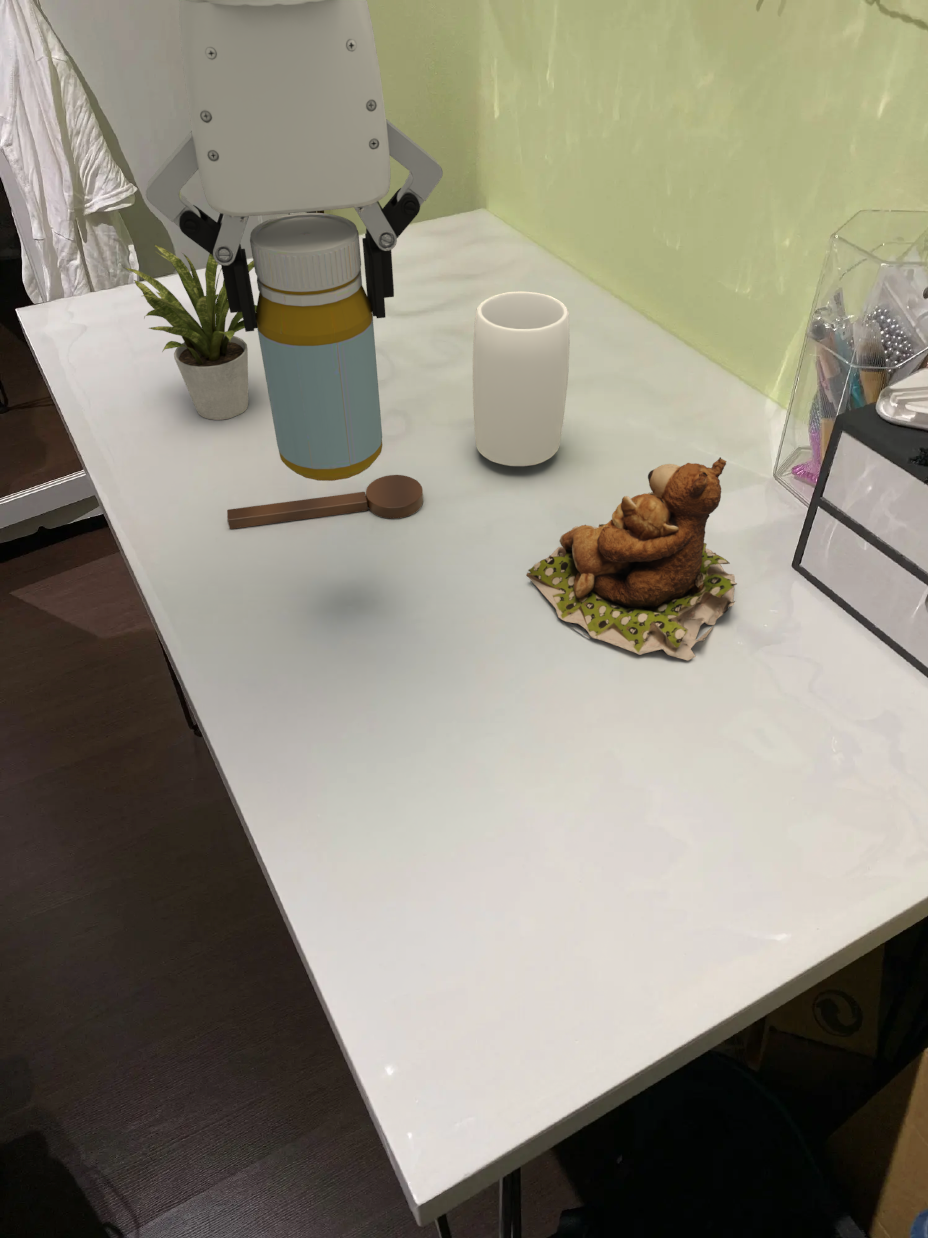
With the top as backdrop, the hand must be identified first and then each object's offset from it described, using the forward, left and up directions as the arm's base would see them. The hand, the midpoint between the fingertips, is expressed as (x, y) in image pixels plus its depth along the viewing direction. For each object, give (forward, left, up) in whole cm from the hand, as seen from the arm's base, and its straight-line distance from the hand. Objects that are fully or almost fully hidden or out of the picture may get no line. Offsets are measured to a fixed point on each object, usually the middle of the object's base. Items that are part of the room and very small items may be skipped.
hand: (313, 312), depth 55 cm
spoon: (0, +12, -24) cm, 26 cm away
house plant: (-8, +33, -24) cm, 42 cm away
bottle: (0, 0, -10) cm, 10 cm away
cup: (+18, +17, -24) cm, 34 cm away
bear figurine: (+22, -4, -24) cm, 33 cm away
